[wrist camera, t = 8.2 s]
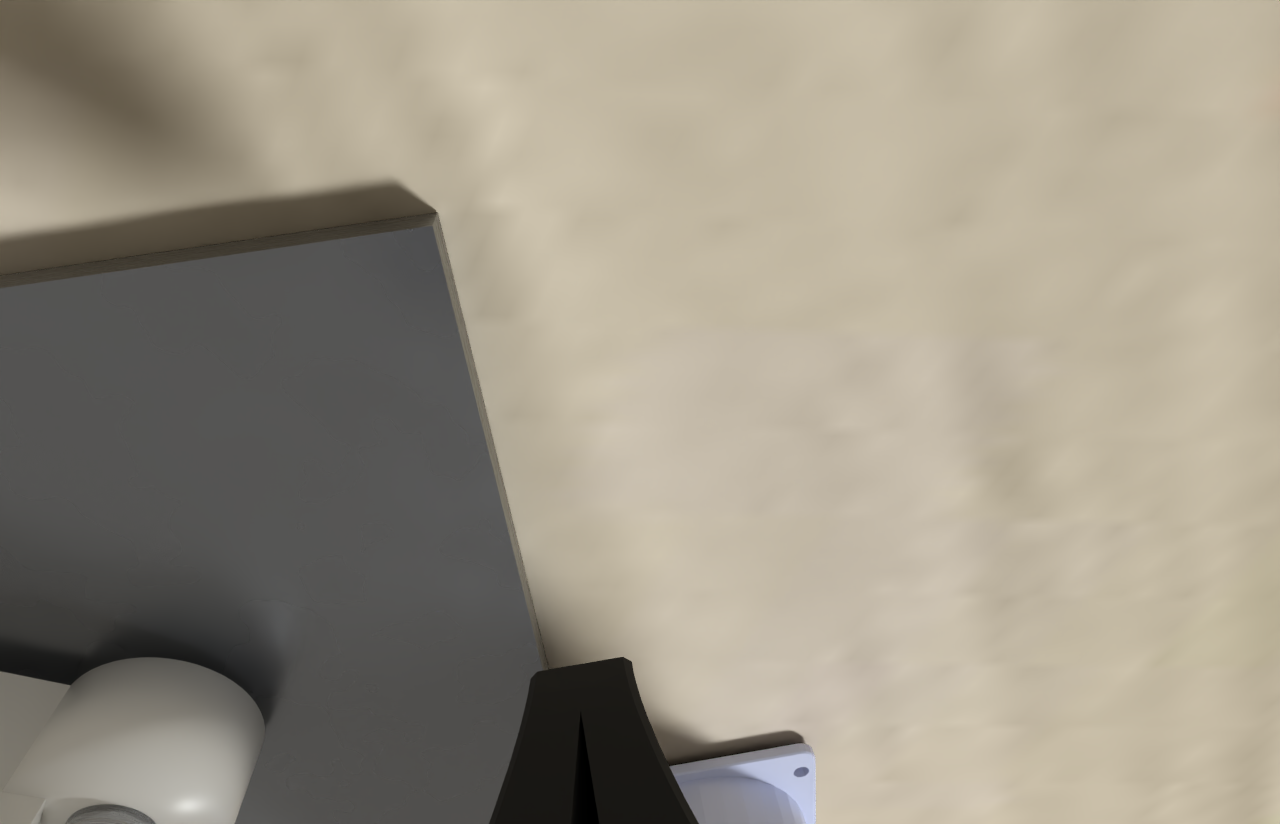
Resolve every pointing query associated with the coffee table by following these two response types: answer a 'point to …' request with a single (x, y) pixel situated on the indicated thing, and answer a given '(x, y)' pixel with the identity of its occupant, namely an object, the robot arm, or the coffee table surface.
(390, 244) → the base plate
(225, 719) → the white block
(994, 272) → the coffee table surface
